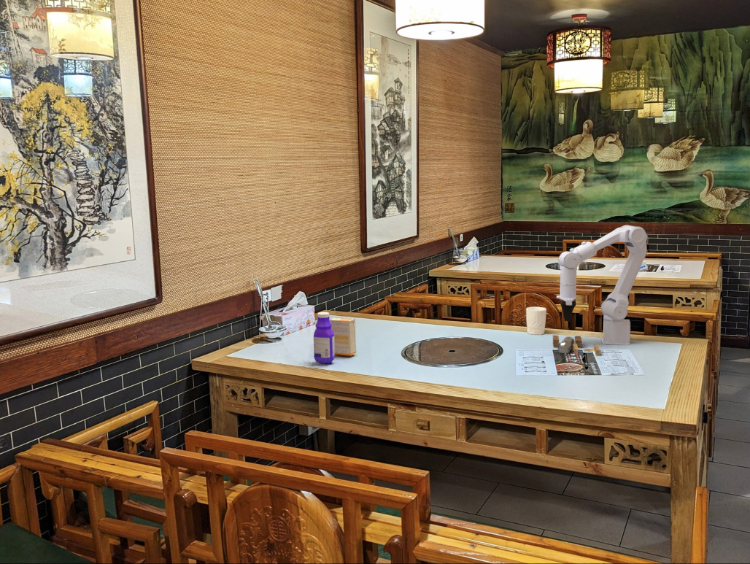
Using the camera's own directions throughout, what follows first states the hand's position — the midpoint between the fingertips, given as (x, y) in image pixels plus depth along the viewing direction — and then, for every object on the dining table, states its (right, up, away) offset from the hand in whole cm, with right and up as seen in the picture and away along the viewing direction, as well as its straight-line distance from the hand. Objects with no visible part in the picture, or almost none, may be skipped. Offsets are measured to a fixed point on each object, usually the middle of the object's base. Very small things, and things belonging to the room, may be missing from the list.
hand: (567, 320), depth 249 cm
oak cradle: (+4, -11, -11) cm, 16 cm away
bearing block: (0, -10, 0) cm, 10 cm away
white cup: (-7, -6, +22) cm, 24 cm away
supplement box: (-83, -12, -3) cm, 84 cm away
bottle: (-89, -14, -12) cm, 91 cm away
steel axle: (-2, -11, -6) cm, 12 cm away
